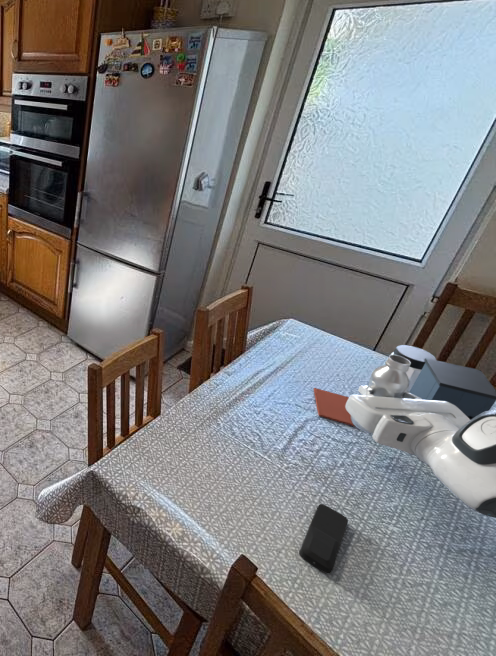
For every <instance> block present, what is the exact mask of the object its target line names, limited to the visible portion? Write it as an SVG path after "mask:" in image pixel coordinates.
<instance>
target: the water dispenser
mask: <svg viewBox="0 0 496 656" xmlns="http://www.w3.org/2000/svg"><path fill="white" fill-rule="evenodd" d="M424 361H425V364H424V366H423V368H422V370H421V372H420V374H419V375H418V377H417V379H416V381H415V383H414V384H413V386H412V388H411V390H410V392H409V393H411V394H413V395H415V396H418V397H420V398H421V399H423V400H434V401H446V402H449V403H451V404H453V405H455V406H456V407H458V408H459V409H460V410H461V411H462V412H463V413H464V414H465V415H466V416H467V417H468V418H469V419H470V420H471V419H473V418H474V417H476V416H477V415H479V414H481V413H483V412H485V411H489V410H492V407H493V406H494V404H495V403H496V388H495V387H494V386H493V384H492V383H491V382H490V380H489V379H488V378H487V376H486V375H485V374H484V373H483V371H482V370H481V369H477V368H473V367H468V366H464V365H458V364H455V363H449V362H446V361H442V360H441V361H440V360H437V359H436V360H433V359H428V358H425V360H424Z"/></svg>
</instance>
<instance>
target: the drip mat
mask: <svg viewBox="0 0 496 656" xmlns="http://www.w3.org/2000/svg"><path fill="white" fill-rule="evenodd" d="M313 393H314V394H313V395H314V398H315V404H316V409H317V410H316V411H317V415H318V417H320V418H324V419H328V420H330V421H333V422H336V423H337V422H338V423H341V424H344V425H347V426H349V427H354V428H357V427H356V426H355V425H354V424H353V423H352V421H351V415H350V414H349V413H348V411H347V410H346V408H345V406H346V402H347V400H348V398H349V397H350V396H346V395H342V394H339V393H335V392H331V391H327V390H323V389H320V388H317V387H314V388H313Z"/></svg>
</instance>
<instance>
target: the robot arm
mask: <svg viewBox="0 0 496 656" xmlns="http://www.w3.org/2000/svg"><path fill="white" fill-rule="evenodd" d="M357 390H358V392H359V394H350V395H349V396H348V397H349V398H348V400H347V402H346V406H345V408H346V410H347V411H348V413H349V414H350V415H351V416H352V417H353V418H354V419H355V420H356V421H357V422H358V423H359V424H360V425H361V426H362V427H363V428H364V429H366V430H367V431H369V432H371V433H373V434H372V436H371V437H372V439H373V441H375V442H376V443H377V444H379V445H381V446H385V447H388V448H389V447H390V448H392V449H396V450H400V451H402V452H404V453H406V454H410V455H413V456H415V457H417V458H418V460H420V461H421V462H422V463H423V464H425V465H427V466H428V467H429V468H430V469H431V471H432V472H433V474H434V475H435V477H436V478H437V479H438V480H439V482H441V483H442V484H443V485H444V486H445V487H446V489H448V490H449V491H450V492H451V493H452V494H453V495H455V496H456V497H457V499H459V500H460V501H461V502H462V503H464V504H465V505H466V506H467V507H469V508H471V509H472V510H473V511H475V512H476V513H477V512H478V513H479V514H482V515H484V516H487V517H489V518H495V519H496V408H494V409H490V410H489V411H485V412H483V413H481V414H479V415H477V416H476V417H474V418H473V419H471V420H470V419H469V418H468V417H467V416H466V415H465V414H464V413H463V412H462V411H461V410H460V409H459V408H458V407H456V406H455V405H453V404H451V403H449V402H446V401H434V400H423V399H421V398H420V397H418V396H415V395H413V394H411V393H409V392H407V391H405V392H404V393H403V395H402V396H401V397H400V398H392V397H379V396H374V395H372V394H371V393H372V391H373V390H372V389H371V388H369V386H368V385H359V387H358V389H357Z"/></svg>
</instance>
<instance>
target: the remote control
mask: <svg viewBox="0 0 496 656" xmlns="http://www.w3.org/2000/svg"><path fill="white" fill-rule="evenodd" d="M348 523H349V519H348V518H347V517H346V516H345V515H343V514H342V513H340V512H338V511H337V510H335V509H333V508H331V507H329V506H328V505H326V504H323V503H320V504H318V505H317V507H316V509H315V511H314V513H313V516H312V518H311V522H310V524H309V527H308V528H307V532H306V534H305V536H304V539H303V541H302V543H301V546H300V549H299V552H298V553H299V554H298V555H299V556H300V558H302V559H303V560H305V561H306V562H308V564H311V565H312V566H314V567H315V568H317V569H318V570H320V571H321V572H322V573H325V574H329V575H330V574H331V573H332V572H333V570H334V567H335V563H336V560H337V557H338V554H339V551H340V549H341V546H342V545H341V544H342V542H343V539H344V535H345V533H346V529H347V526H348Z"/></svg>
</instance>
